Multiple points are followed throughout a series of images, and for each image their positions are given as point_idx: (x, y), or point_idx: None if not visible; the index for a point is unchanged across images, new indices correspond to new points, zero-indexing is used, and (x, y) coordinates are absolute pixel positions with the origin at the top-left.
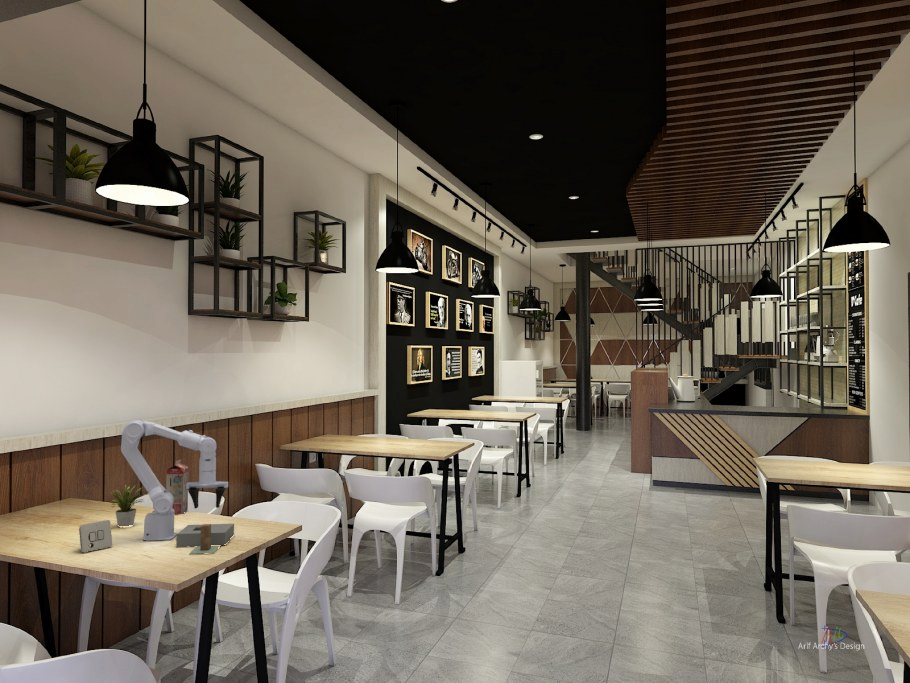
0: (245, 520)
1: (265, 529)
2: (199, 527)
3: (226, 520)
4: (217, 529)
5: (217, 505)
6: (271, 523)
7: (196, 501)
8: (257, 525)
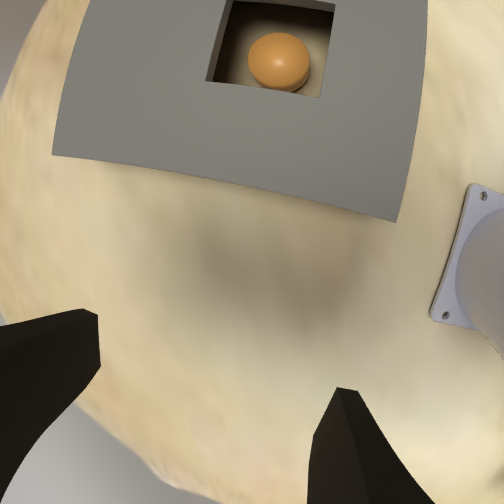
0: (115, 423)
1: (13, 243)
2: (286, 92)
3: (191, 460)
4: (142, 5)
5: (63, 312)
6: None
7: (337, 469)
8: None
